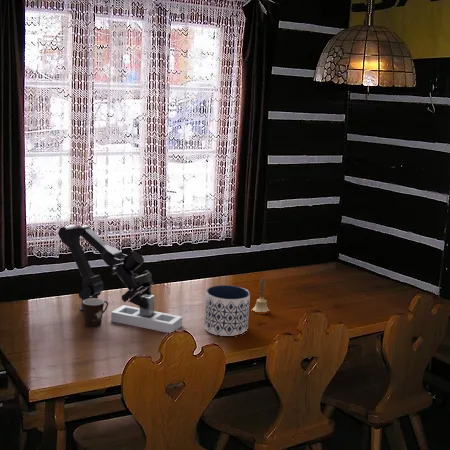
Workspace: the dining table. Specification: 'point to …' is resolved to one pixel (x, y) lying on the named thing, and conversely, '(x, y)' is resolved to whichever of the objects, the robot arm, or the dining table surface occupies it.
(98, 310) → the coffee mug
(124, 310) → the white flat frame block
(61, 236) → the robot arm
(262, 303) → the hand bell
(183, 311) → the dining table surface
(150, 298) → the steel peg
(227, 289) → the planter
